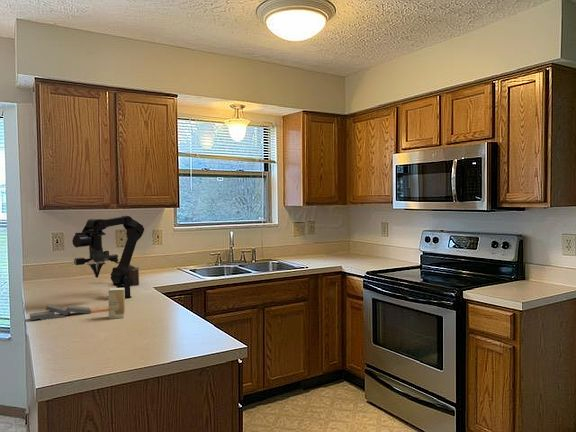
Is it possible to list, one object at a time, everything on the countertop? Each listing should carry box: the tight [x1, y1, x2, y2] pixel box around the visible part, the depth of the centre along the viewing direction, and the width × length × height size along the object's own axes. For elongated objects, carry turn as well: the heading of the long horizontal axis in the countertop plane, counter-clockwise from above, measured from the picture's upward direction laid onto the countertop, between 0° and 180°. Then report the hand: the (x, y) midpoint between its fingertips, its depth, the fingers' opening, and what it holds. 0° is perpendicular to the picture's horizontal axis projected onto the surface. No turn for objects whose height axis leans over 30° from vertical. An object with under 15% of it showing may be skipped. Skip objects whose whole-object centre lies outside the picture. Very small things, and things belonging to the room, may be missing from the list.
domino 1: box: [29, 310, 56, 321], centre depth 189 cm, size 2×5×9 cm
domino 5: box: [89, 305, 109, 314], centre depth 201 cm, size 2×5×9 cm
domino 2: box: [45, 304, 72, 316], centre depth 193 cm, size 2×5×9 cm
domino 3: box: [40, 313, 66, 321], centre depth 191 cm, size 2×5×9 cm
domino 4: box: [66, 305, 91, 315], centre depth 196 cm, size 2×5×9 cm
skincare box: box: [108, 287, 126, 319], centre depth 189 cm, size 6×4×12 cm
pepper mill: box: [113, 253, 140, 287], centre depth 263 cm, size 16×11×18 cm
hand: (96, 277), depth 214 cm, fingers closed
